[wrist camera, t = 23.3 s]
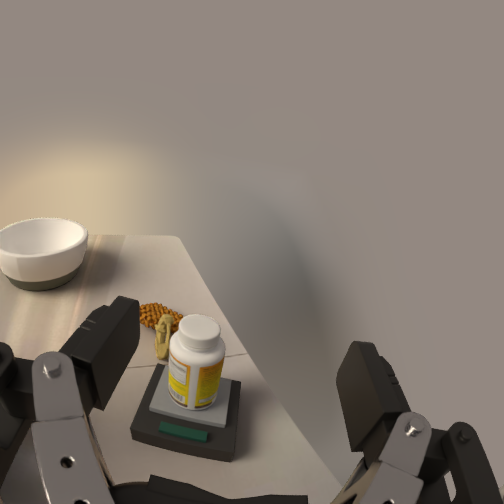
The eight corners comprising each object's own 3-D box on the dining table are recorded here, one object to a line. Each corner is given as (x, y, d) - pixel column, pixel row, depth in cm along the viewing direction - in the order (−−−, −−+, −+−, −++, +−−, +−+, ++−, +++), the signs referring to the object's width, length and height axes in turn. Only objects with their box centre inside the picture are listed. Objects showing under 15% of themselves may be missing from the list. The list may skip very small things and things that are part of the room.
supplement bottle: (218, 382, 33) (232, 315, 29) (213, 417, 27) (226, 350, 24) (174, 372, 32) (178, 304, 29) (162, 405, 27) (163, 336, 24)
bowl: (98, 253, 63) (98, 220, 60) (73, 305, 43) (69, 262, 40) (22, 246, 56) (20, 214, 53) (-19, 290, 36) (-27, 251, 33)
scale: (237, 393, 35) (242, 377, 34) (230, 462, 25) (235, 449, 24) (157, 376, 35) (157, 358, 34) (132, 439, 25) (129, 424, 24)
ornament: (132, 281, 46) (134, 317, 33) (189, 295, 51) (212, 332, 37) (124, 316, 47) (125, 362, 33) (179, 328, 51) (199, 373, 38)
